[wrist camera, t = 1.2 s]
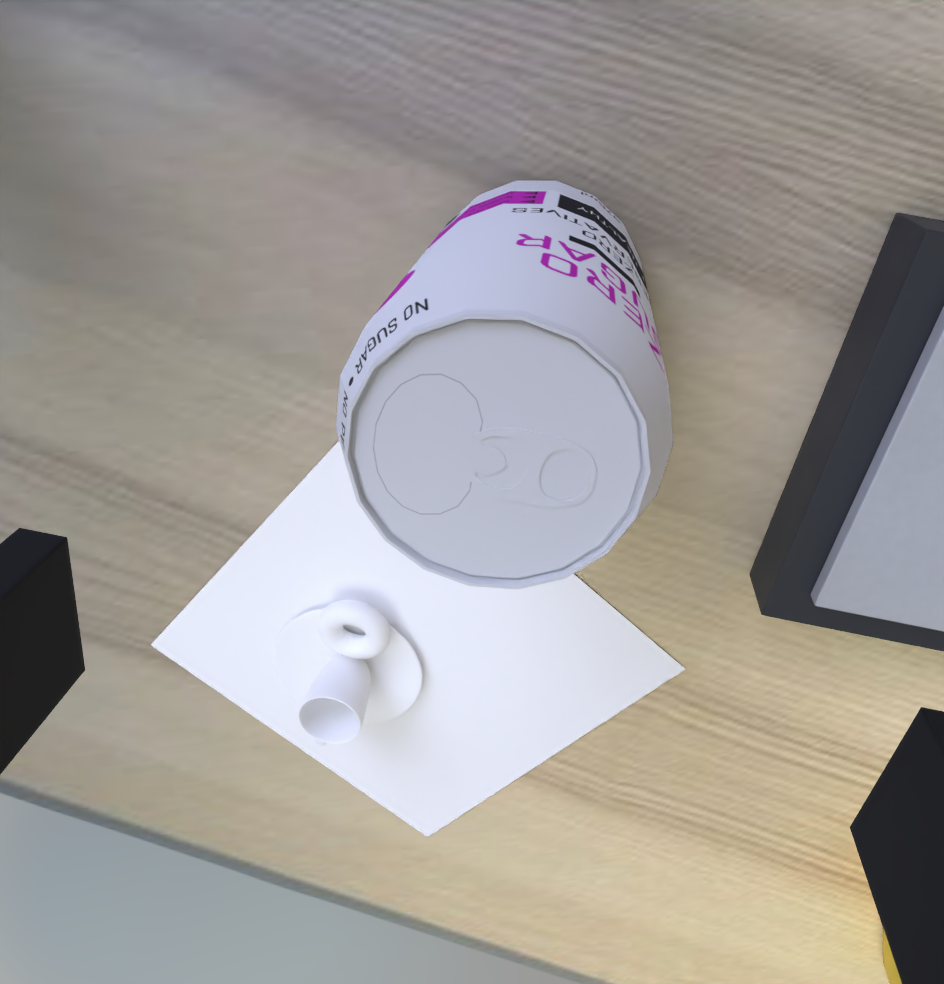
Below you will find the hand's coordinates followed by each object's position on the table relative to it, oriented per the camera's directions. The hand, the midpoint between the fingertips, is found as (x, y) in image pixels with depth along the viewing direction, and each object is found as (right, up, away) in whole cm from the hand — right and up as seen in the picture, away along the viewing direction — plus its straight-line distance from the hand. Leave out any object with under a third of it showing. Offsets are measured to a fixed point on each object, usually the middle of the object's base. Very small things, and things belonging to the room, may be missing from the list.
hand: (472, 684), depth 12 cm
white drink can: (+2, +11, +19) cm, 22 cm away
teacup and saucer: (-3, -5, +29) cm, 30 cm away
